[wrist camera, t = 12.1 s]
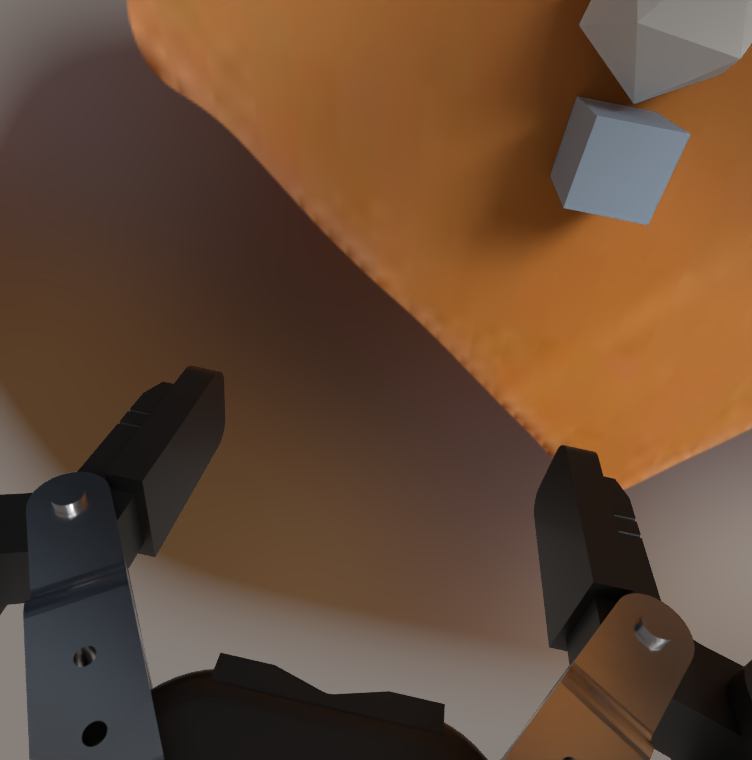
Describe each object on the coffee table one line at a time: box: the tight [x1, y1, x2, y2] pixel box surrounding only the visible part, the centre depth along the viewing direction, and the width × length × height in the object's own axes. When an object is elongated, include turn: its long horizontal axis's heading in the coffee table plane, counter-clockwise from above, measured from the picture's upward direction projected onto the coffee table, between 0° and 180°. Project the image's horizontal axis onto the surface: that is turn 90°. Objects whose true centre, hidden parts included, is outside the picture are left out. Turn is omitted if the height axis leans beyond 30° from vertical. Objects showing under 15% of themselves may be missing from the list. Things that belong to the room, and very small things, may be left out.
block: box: [550, 96, 691, 225], centre depth 33 cm, size 5×5×7 cm
